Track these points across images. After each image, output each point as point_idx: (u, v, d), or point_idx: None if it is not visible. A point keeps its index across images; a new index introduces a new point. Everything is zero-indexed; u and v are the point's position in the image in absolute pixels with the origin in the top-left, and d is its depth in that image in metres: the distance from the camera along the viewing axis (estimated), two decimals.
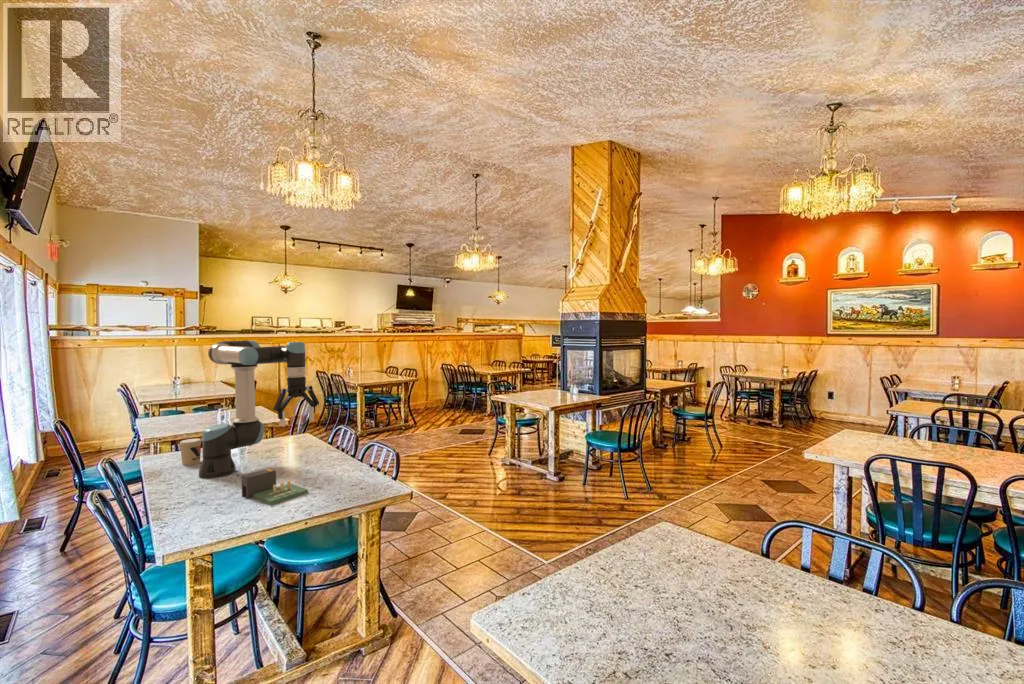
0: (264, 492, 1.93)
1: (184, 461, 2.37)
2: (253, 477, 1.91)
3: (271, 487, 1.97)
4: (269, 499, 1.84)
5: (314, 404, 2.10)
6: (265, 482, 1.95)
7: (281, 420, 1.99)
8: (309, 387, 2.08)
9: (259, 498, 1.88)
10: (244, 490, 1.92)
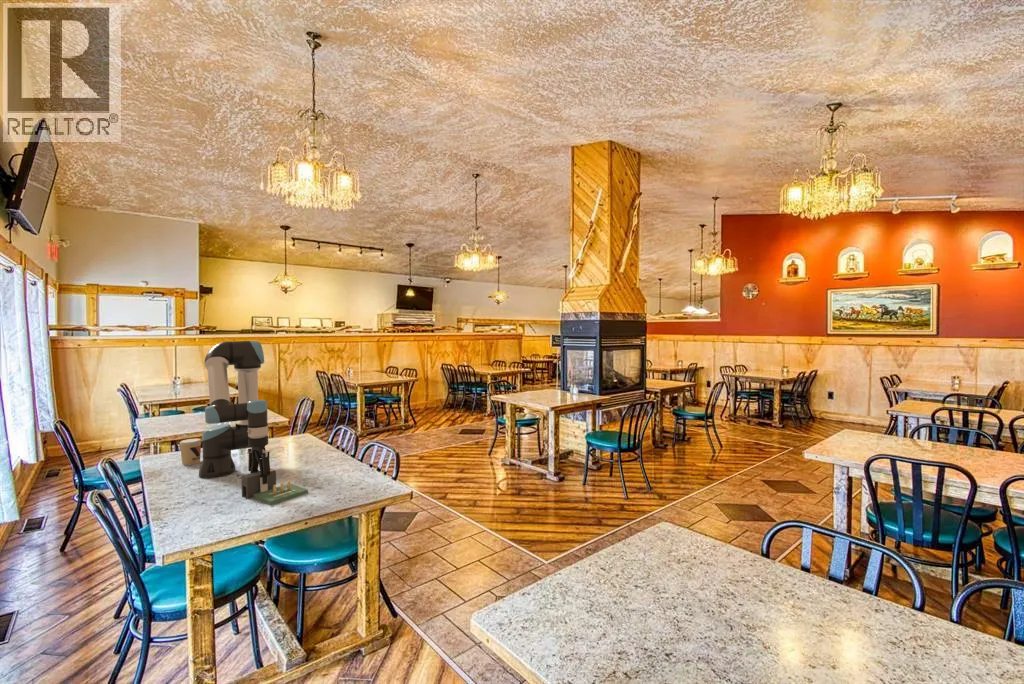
0: (264, 492, 1.93)
1: (184, 461, 2.37)
2: (253, 477, 1.91)
3: (271, 487, 1.97)
4: (269, 499, 1.84)
5: (261, 474, 1.91)
6: None
7: None
8: None
9: (259, 498, 1.88)
10: (244, 490, 1.92)
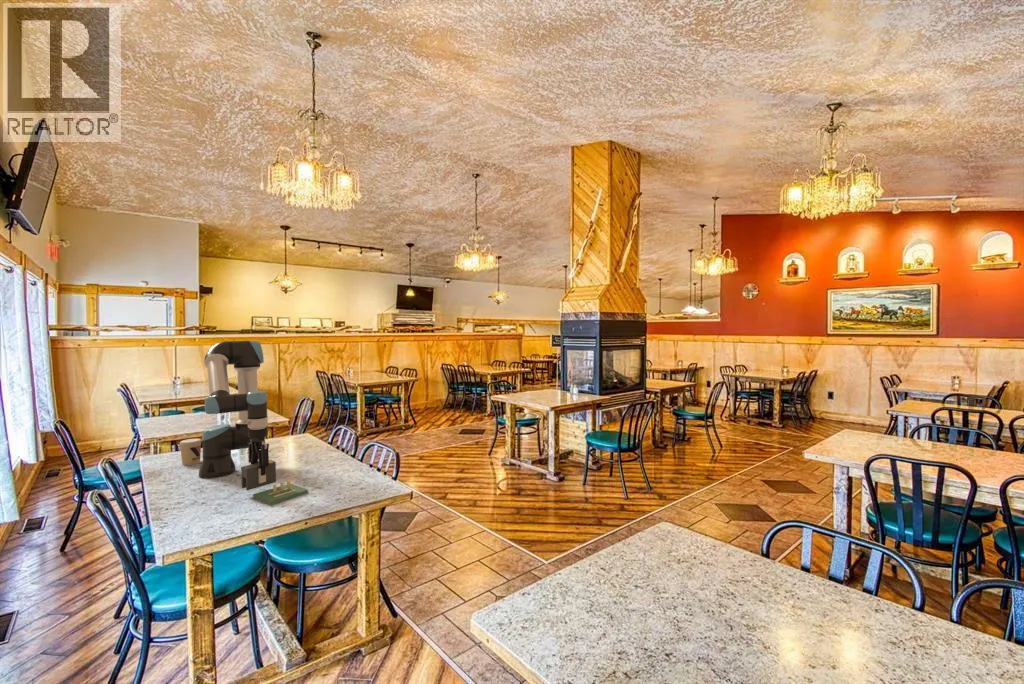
0: (264, 492, 1.93)
1: (184, 461, 2.37)
2: (253, 468, 1.91)
3: (271, 478, 1.98)
4: (269, 499, 1.84)
5: (260, 466, 1.92)
6: None
7: None
8: None
9: (259, 498, 1.88)
10: (244, 481, 1.92)
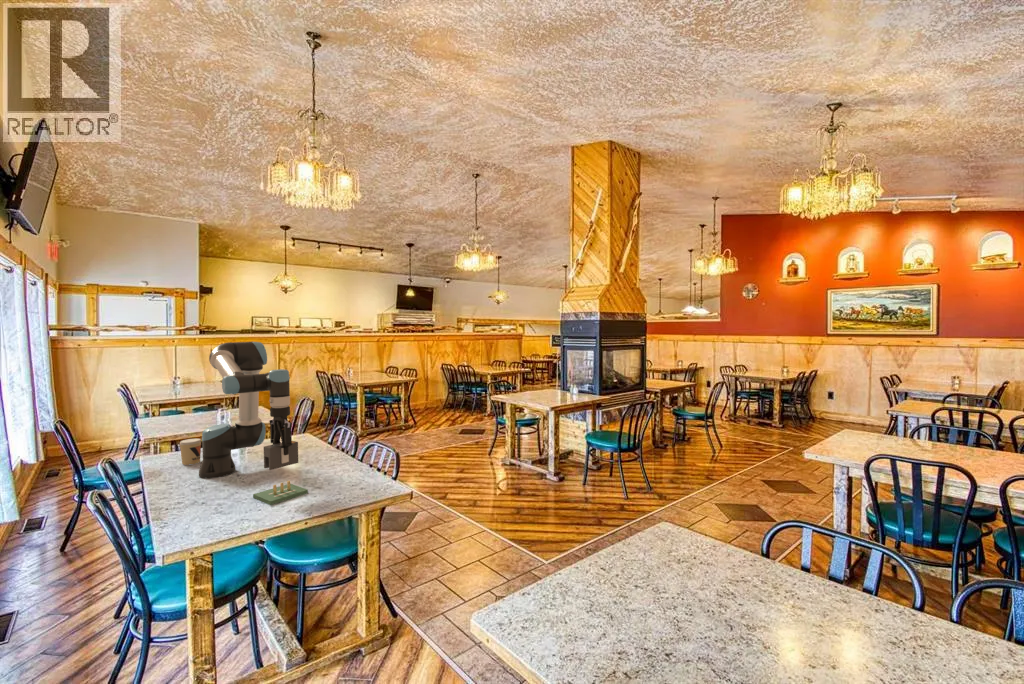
0: (264, 492, 1.93)
1: (184, 461, 2.37)
2: (276, 448, 1.87)
3: (293, 459, 1.94)
4: (269, 499, 1.84)
5: (283, 445, 1.88)
6: None
7: None
8: None
9: (259, 498, 1.88)
10: (266, 461, 1.88)
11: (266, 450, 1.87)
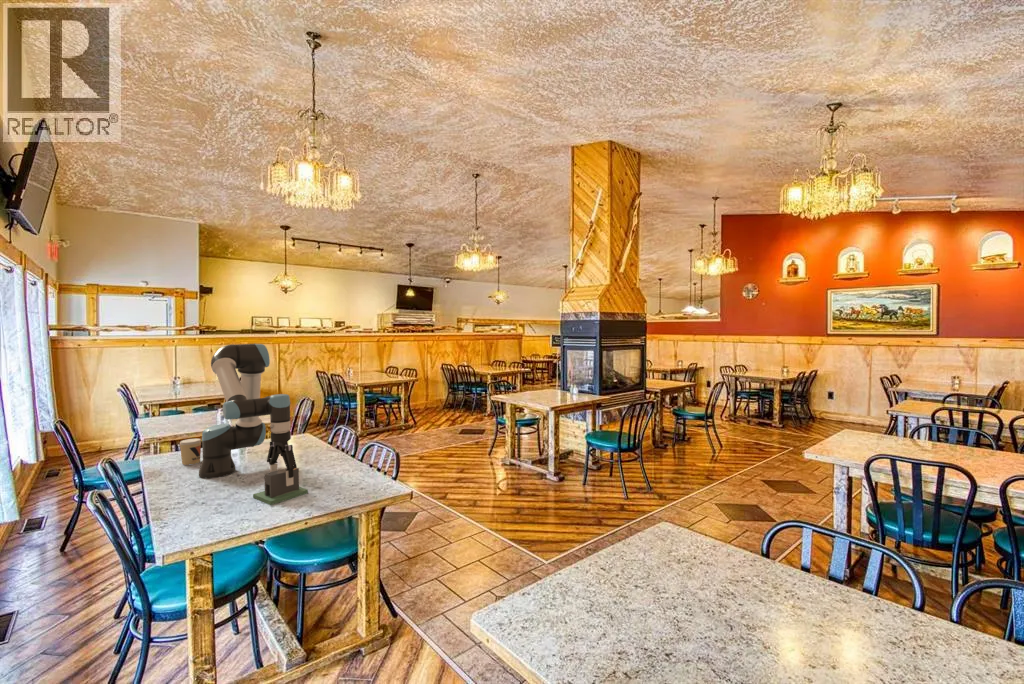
0: (264, 492, 1.93)
1: (184, 461, 2.37)
2: (276, 475, 1.88)
3: (294, 486, 1.94)
4: (269, 499, 1.84)
5: (287, 468, 1.87)
6: None
7: None
8: None
9: (259, 498, 1.88)
10: (267, 489, 1.89)
11: (267, 478, 1.87)
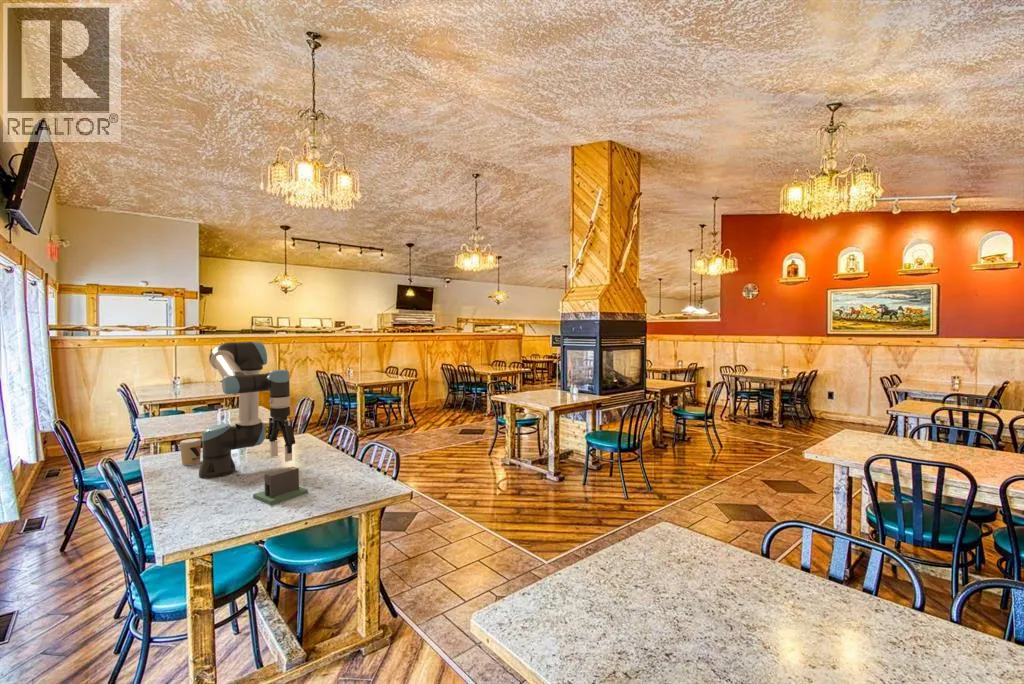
0: (264, 492, 1.93)
1: (184, 461, 2.37)
2: (276, 475, 1.88)
3: (294, 486, 1.94)
4: (269, 499, 1.84)
5: (286, 443, 1.87)
6: (288, 480, 1.92)
7: None
8: None
9: (259, 498, 1.88)
10: (267, 489, 1.89)
11: (267, 478, 1.87)
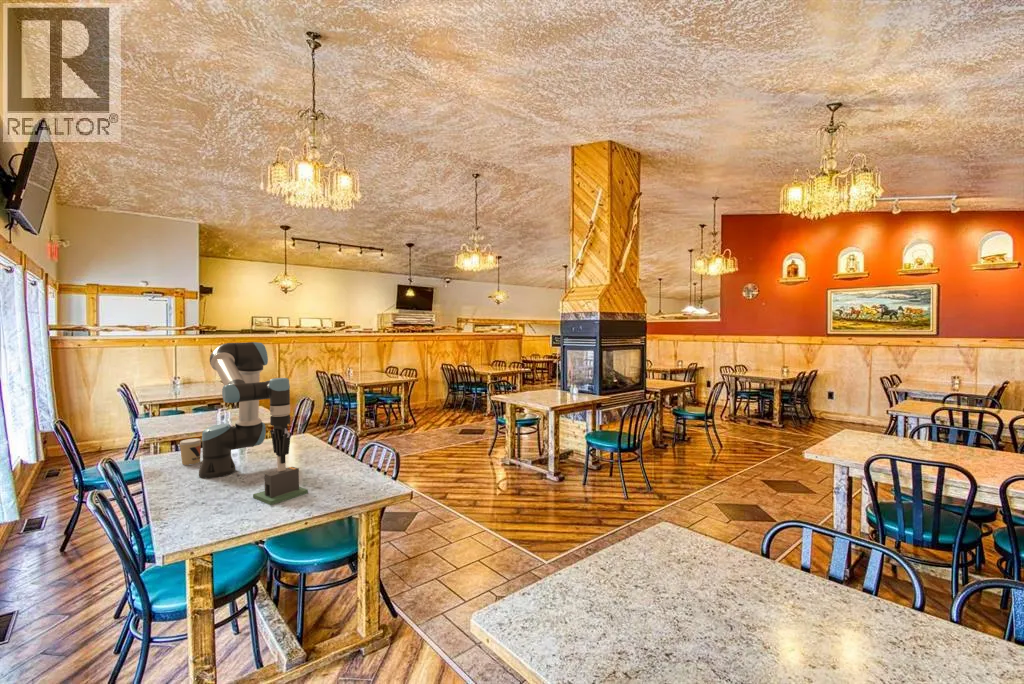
0: (264, 492, 1.93)
1: (184, 461, 2.37)
2: (276, 475, 1.88)
3: (294, 486, 1.94)
4: (269, 499, 1.84)
5: (280, 454, 1.90)
6: (288, 480, 1.92)
7: None
8: None
9: (259, 498, 1.88)
10: (267, 489, 1.89)
11: (267, 478, 1.87)
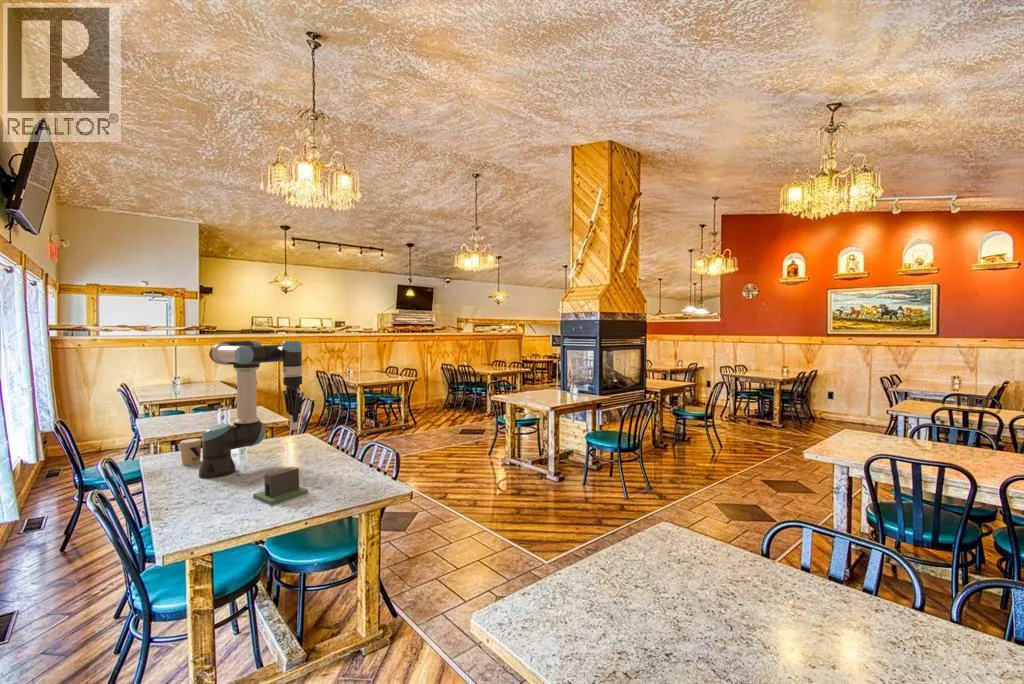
0: (264, 492, 1.93)
1: (184, 461, 2.37)
2: (276, 475, 1.88)
3: (294, 486, 1.94)
4: (269, 499, 1.84)
5: (292, 413, 1.98)
6: (288, 480, 1.92)
7: None
8: None
9: (259, 498, 1.88)
10: (267, 489, 1.89)
11: (267, 478, 1.87)
